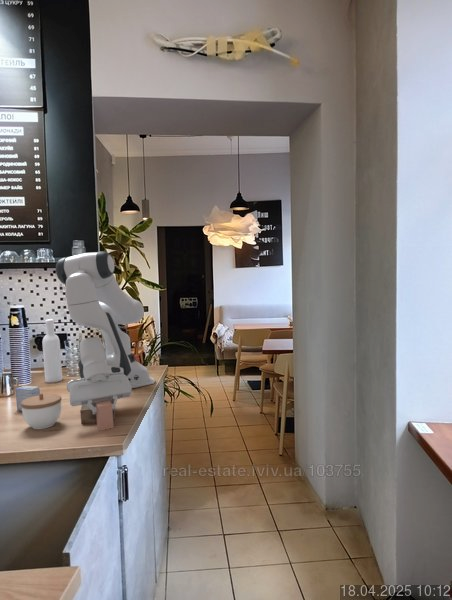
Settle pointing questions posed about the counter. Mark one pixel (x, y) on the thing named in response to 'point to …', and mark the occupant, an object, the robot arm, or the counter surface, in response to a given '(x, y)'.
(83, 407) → the walnut block
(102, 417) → the terracotta block
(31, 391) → the medicine box
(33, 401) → the lidded bowl
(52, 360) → the bottle
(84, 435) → the counter surface
